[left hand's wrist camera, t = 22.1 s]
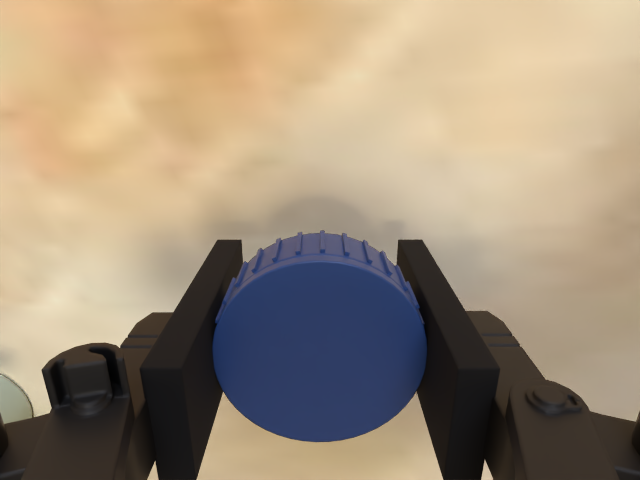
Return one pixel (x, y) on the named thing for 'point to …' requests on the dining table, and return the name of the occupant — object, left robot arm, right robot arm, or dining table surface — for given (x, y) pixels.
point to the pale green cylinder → (13, 402)
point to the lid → (319, 339)
